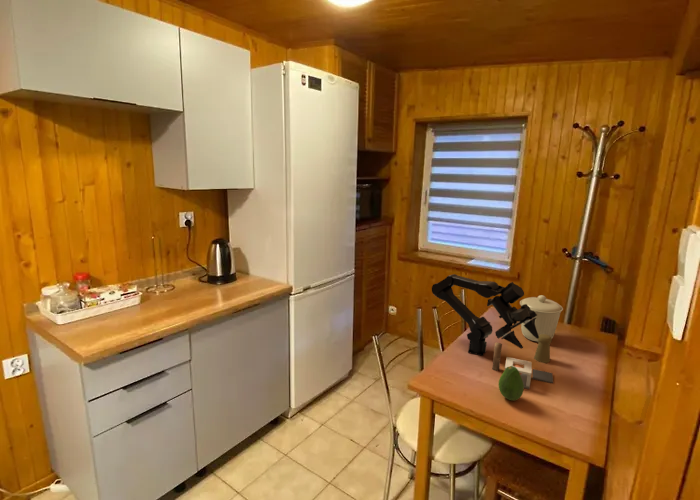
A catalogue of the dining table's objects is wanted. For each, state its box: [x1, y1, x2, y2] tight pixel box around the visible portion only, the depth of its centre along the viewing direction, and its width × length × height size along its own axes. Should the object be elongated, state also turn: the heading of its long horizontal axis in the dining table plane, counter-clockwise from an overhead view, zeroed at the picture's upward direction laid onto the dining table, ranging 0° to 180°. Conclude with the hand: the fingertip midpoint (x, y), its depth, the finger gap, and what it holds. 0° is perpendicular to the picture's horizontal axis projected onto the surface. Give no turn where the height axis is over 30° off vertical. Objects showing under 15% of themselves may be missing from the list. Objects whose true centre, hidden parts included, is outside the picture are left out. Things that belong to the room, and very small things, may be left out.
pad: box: [532, 368, 554, 384], centre depth 151 cm, size 7×7×1 cm
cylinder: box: [491, 342, 503, 372], centre depth 155 cm, size 3×3×11 cm
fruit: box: [498, 365, 525, 401], centre depth 136 cm, size 8×8×12 cm
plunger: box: [513, 364, 524, 375], centre depth 148 cm, size 3×3×2 cm
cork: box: [533, 334, 553, 364], centre depth 163 cm, size 6×6×11 cm
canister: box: [519, 294, 564, 343], centre depth 182 cm, size 18×18×21 cm
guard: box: [504, 356, 533, 390], centre depth 148 cm, size 9×9×6 cm
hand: (530, 343), depth 151 cm, fingers open, 9 cm apart
